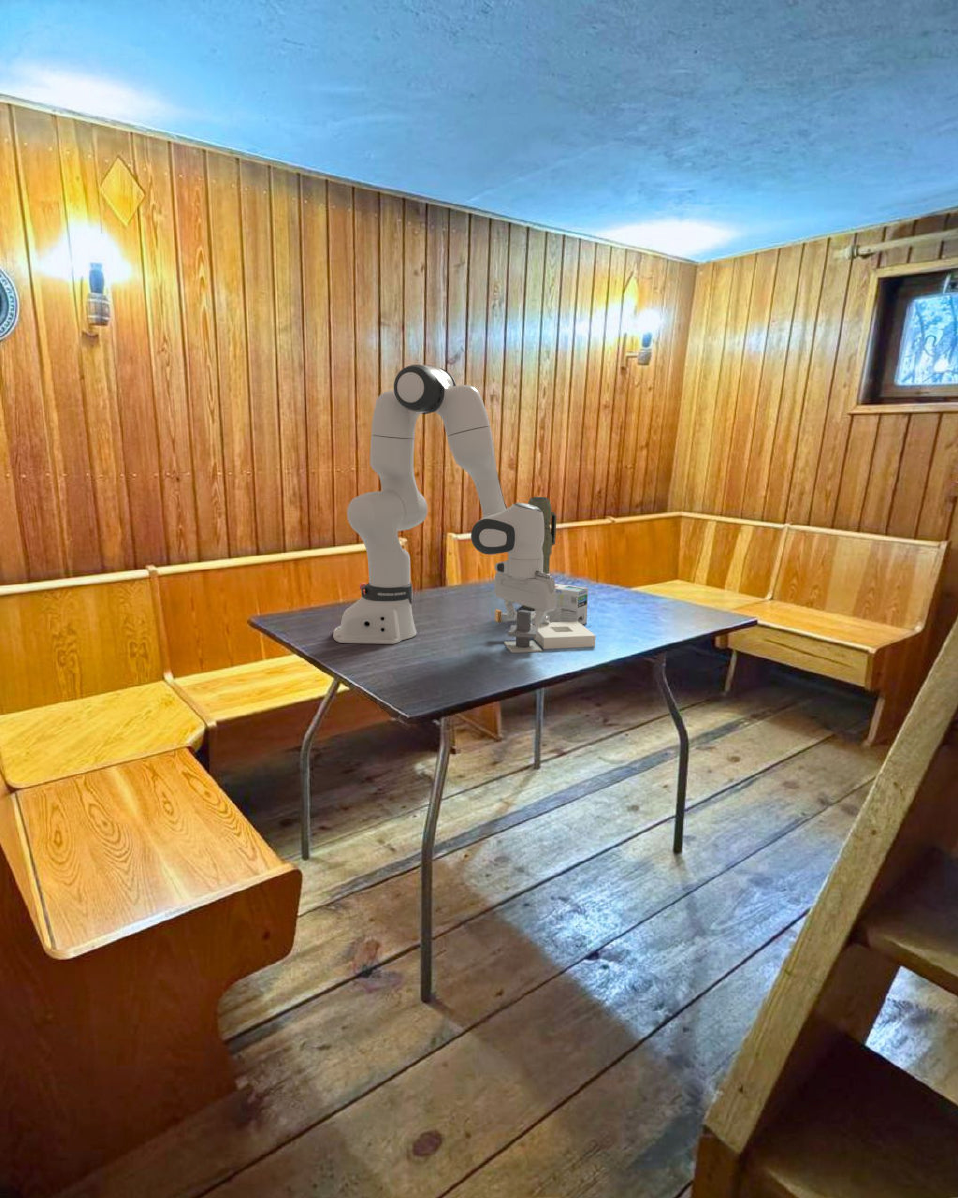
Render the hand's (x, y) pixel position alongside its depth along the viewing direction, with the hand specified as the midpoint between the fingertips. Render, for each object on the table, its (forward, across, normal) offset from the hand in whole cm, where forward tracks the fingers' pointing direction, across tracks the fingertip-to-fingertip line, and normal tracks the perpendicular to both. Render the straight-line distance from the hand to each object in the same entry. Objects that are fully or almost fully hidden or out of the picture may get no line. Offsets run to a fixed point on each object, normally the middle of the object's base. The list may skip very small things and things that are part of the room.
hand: (523, 621), depth 176 cm
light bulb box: (+7, +11, -27) cm, 30 cm away
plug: (+7, 0, 0) cm, 7 cm away
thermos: (+7, +30, -32) cm, 44 cm away
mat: (+7, 0, 0) cm, 7 cm away
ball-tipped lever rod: (+4, +8, -7) cm, 11 cm away
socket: (+7, -1, -13) cm, 15 cm away
